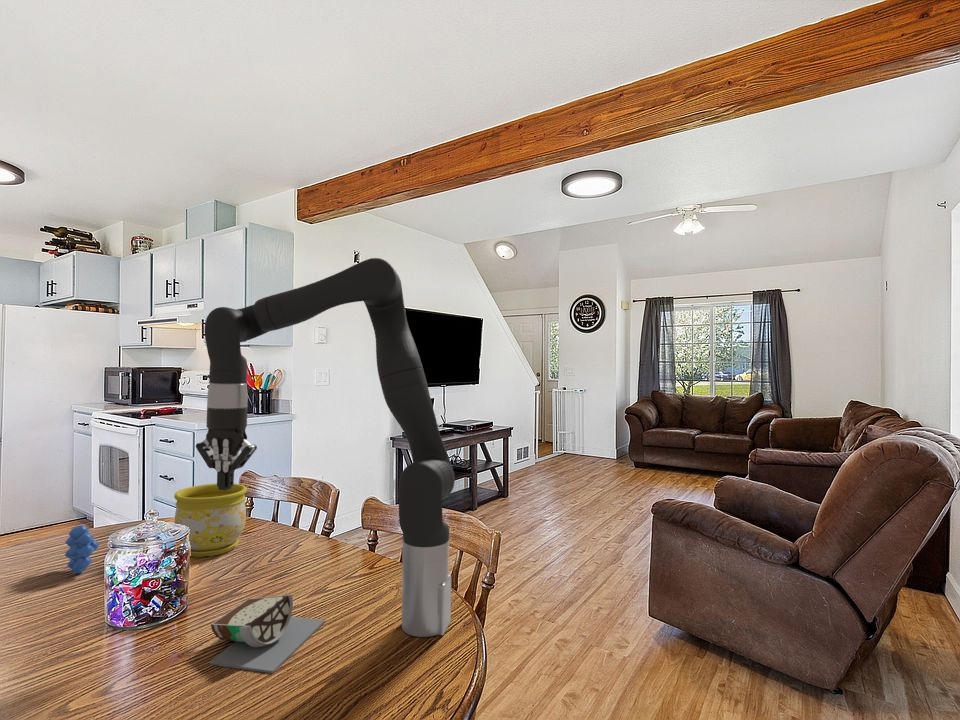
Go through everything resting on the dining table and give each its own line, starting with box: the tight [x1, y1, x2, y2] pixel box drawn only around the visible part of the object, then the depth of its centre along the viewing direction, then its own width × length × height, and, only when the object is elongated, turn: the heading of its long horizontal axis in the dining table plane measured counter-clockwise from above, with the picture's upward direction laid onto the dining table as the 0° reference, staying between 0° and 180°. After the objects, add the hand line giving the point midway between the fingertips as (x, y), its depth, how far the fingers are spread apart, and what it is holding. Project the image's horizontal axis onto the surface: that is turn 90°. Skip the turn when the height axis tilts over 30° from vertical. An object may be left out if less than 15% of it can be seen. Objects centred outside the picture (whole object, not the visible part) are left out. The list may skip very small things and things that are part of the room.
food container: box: [210, 593, 294, 647], centre depth 99 cm, size 12×6×10 cm
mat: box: [208, 615, 326, 674], centre depth 99 cm, size 12×18×1 cm
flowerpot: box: [173, 483, 248, 558], centre depth 147 cm, size 18×18×16 cm
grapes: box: [64, 524, 101, 575], centre depth 130 cm, size 12×7×12 cm, turn 55°
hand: (225, 489), depth 108 cm, fingers closed
